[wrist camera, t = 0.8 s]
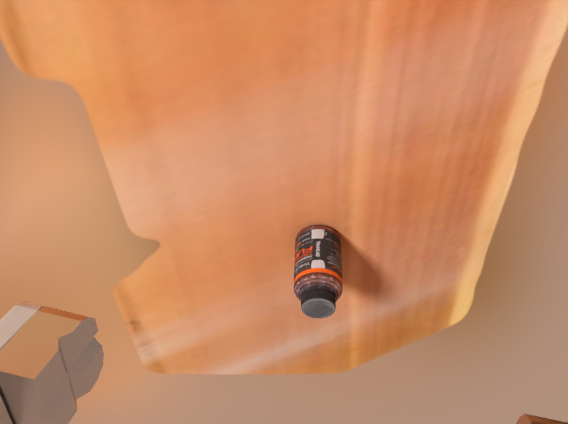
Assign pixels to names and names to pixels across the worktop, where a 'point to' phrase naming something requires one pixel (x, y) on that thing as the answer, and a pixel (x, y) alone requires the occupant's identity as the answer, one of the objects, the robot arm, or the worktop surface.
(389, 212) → the worktop surface
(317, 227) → the supplement bottle
